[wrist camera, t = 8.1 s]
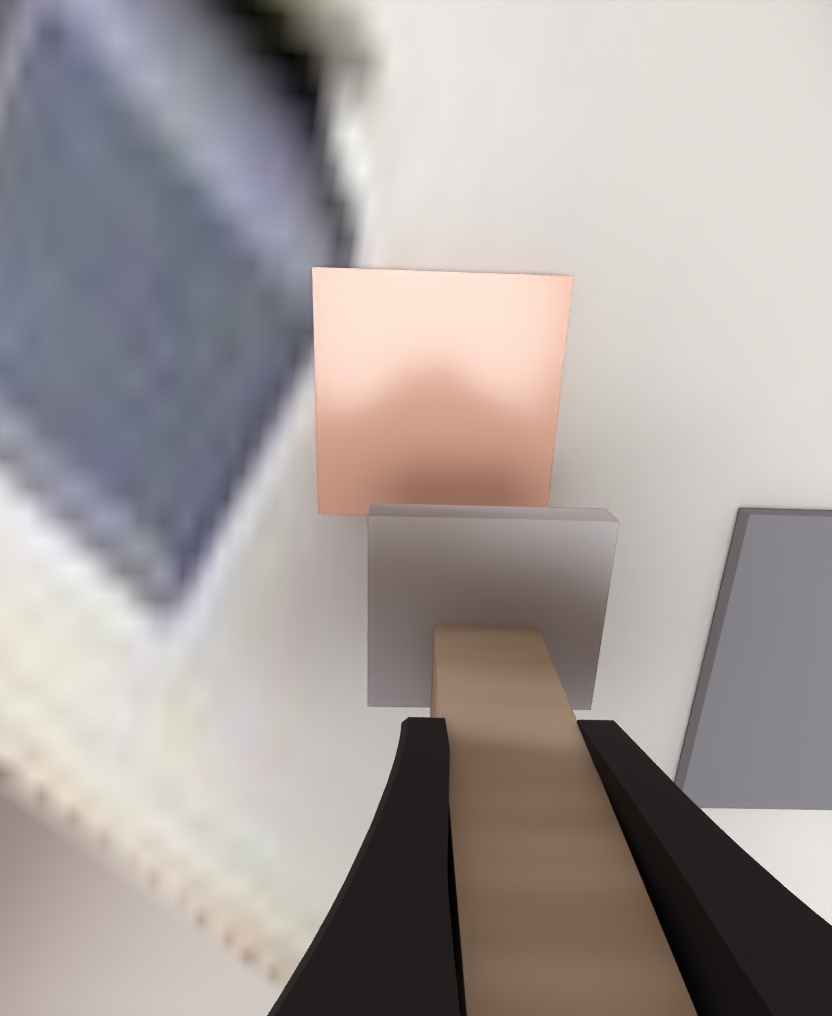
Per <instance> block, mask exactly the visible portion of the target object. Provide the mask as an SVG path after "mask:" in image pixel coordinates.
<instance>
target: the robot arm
mask: <svg viewBox="0 0 832 1016" xmlns="http://www.w3.org/2000/svg"><path fill="white" fill-rule="evenodd" d="M577 724H578V727H579V729H580V732H581V734H582V736H583V739H584V741H585V744H586V746H587V749H588V751H589V754H590V756H591V759H592V761H593V763H594V766H595V768H596V770H597V772H598V774H599V777H600V779H601V782H602V784H603V786H604V789H605V791H606V794H607V796H608V799H609V801H610V803H611V806H612V808H613V811H614V813H615V816H616V818H617V821H618V823H619V825H620V828H621V830H622V833H623V835H624V838H625V840H626V842H627V845H628V847H629V850H630V852H631V855H632V857H633V859H634V862H635V864H636V867H637V869H638V872H639V874H640V876H641V879H642V881H643V884H644V886H645V889H646V891H647V893H648V896H649V898H650V901H651V903H652V906H653V908H654V911H655V913H656V915H657V918H658V920H659V923H660V925H661V928H662V930H663V932H664V935H665V937H666V940H667V942H668V945H669V947H670V949H671V952H672V954H673V957H674V959H675V962H676V964H677V966H678V969H679V971H680V974H681V976H682V979H683V981H684V983H685V986H686V988H687V991H688V993H689V996H690V998H691V1001H692V1003H693V1005H694V1008H695V1010H696V1013H697V1015H698V1016H832V926H831V925H830V924H829V923H828V922H826V921H825V920H824V919H823V918H821V917H820V916H819V915H818V914H816V913H815V912H814V911H813V910H812V909H810V908H809V907H808V906H807V905H806V904H804V903H803V902H802V901H801V900H800V899H799V898H797V897H796V896H795V895H794V894H793V893H791V892H790V891H789V890H788V889H787V888H786V887H784V886H783V885H782V884H781V883H780V882H779V881H778V880H777V879H775V878H774V877H773V876H772V875H771V874H770V873H769V872H768V871H767V870H765V869H764V868H763V867H762V866H761V865H760V864H759V863H758V862H756V861H755V860H754V859H753V858H752V857H751V856H750V855H749V854H747V853H746V852H745V851H744V850H743V849H742V848H741V847H740V846H739V845H738V844H737V843H736V842H734V841H733V840H732V839H731V838H730V837H729V836H728V835H727V834H726V833H725V832H724V831H723V830H722V829H721V828H720V827H719V826H717V825H716V824H715V823H714V822H713V821H712V820H711V819H710V818H709V817H708V816H707V815H706V814H705V813H704V812H703V811H702V810H701V809H700V808H699V807H698V806H697V805H696V804H695V803H694V802H693V801H692V800H691V799H690V798H689V797H688V796H687V795H686V794H685V793H684V792H683V791H682V790H681V789H680V788H679V787H678V786H677V785H676V784H675V783H674V782H673V781H672V780H671V779H670V778H669V777H668V776H667V775H666V774H665V773H664V772H663V771H662V770H661V769H660V768H659V767H658V766H657V765H656V764H655V763H654V762H653V761H652V760H651V759H650V758H649V756H648V755H647V754H646V753H645V752H644V751H643V750H642V749H641V748H640V747H639V746H638V745H637V744H636V743H635V742H634V741H633V740H632V739H631V738H630V737H629V736H628V735H627V734H626V733H625V732H624V731H623V730H622V728H621V727H620V726H619V725H618V724H617V723H616V722H615V721H614V720H577ZM449 770H450V746H449V739H448V733H447V727H446V721H445V718H426V717H408V718H407V719H406V720H404V721H403V722H402V723H401V734H400V739H399V744H398V748H397V752H396V756H395V760H394V763H393V766H392V769H391V773H390V776H389V779H388V782H387V785H386V787H385V790H384V792H383V795H382V798H381V800H380V803H379V805H378V808H377V811H376V813H375V816H374V819H373V821H372V823H371V826H370V828H369V830H368V833H367V835H366V837H365V839H364V841H363V843H362V846H361V848H360V850H359V852H358V854H357V856H356V859H355V861H354V863H353V865H352V867H351V869H350V871H349V874H348V876H347V878H346V880H345V882H344V884H343V886H342V888H341V890H340V892H339V893H338V895H337V897H336V899H335V901H334V903H333V905H332V907H331V909H330V911H329V913H328V914H327V916H326V918H325V920H324V922H323V923H322V925H321V927H320V929H319V931H318V932H317V934H316V936H315V938H314V940H313V941H312V943H311V945H310V947H309V948H308V950H307V952H306V953H305V955H304V957H303V958H302V960H301V962H300V963H299V965H298V967H297V968H296V970H295V972H294V973H293V975H292V977H291V978H290V980H289V981H288V983H287V985H286V986H285V988H284V990H283V991H282V993H281V995H280V996H279V998H278V1000H277V1001H276V1003H275V1004H274V1006H273V1007H272V1009H271V1011H270V1012H269V1014H268V1015H267V1016H460V1009H459V999H458V989H457V980H456V970H455V960H454V949H453V938H452V927H451V917H450V906H449V895H448V865H447V858H448V815H449Z"/></svg>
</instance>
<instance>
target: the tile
mask: <svg viewBox="0 0 832 1016" xmlns="http://www.w3.org/2000/svg"><path fill="white" fill-rule="evenodd" d="M312 276H313V315H314V354H315V394H316V433H317V472H318V511H319V514H342V515H368V513H369V508H370V503H384V504H427V505H471V506H514V507H547V504H548V496H549V487H550V478H551V469H552V460H553V452H554V443H555V434H556V425H557V417H558V408H559V399H560V390H561V381H562V373H563V364H564V355H565V346H566V338H567V329H568V320H569V311H570V303H571V294H572V285H573V276H552V275H524V274H495V273H467V272H438V271H410V270H382V269H353V268H325V267H312Z"/></svg>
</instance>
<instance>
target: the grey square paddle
mask: <svg viewBox="0 0 832 1016" xmlns="http://www.w3.org/2000/svg"><path fill="white" fill-rule="evenodd" d="M618 526H619V521H618V520H617V519H616V518H615V517H614V516H613V515H612V514H611V513H610V512H609V511H608V510H607V509H600V508H557V507H514V506H471V505H427V504H384V503H370V508H369V513H368V706H372V707H430V716H431V718H445V721H446V727H447V733H448V739H449V746H450V770H449V815H448V858H447V865H448V895H449V906H450V917H451V927H452V938H453V949H454V960H455V970H456V980H457V989H458V999H459V1009H460V1016H698V1015H697V1013H696V1010H695V1008H694V1005H693V1003H692V1001H691V998H690V996H689V993H688V991H687V988H686V986H685V983H684V981H683V979H682V976H681V974H680V971H679V969H678V966H677V964H676V962H675V959H674V957H673V954H672V952H671V949H670V947H669V945H668V942H667V940H666V937H665V935H664V932H663V930H662V928H661V925H660V923H659V920H658V918H657V915H656V913H655V911H654V908H653V906H652V903H651V901H650V898H649V896H648V893H647V891H646V889H645V886H644V884H643V881H642V879H641V876H640V874H639V872H638V869H637V867H636V864H635V862H634V859H633V857H632V855H631V852H630V850H629V847H628V845H627V842H626V840H625V838H624V835H623V833H622V830H621V828H620V825H619V823H618V821H617V818H616V816H615V813H614V811H613V808H612V806H611V803H610V801H609V799H608V796H607V794H606V791H605V789H604V786H603V784H602V782H601V779H600V777H599V774H598V772H597V770H596V768H595V766H594V763H593V761H592V759H591V756H590V754H589V751H588V749H587V746H586V744H585V741H584V739H583V736H582V734H581V732H580V729H579V727H578V724H577V721H576V718H575V716H574V713H573V711H572V710H591V704H592V698H593V691H594V685H595V678H596V671H597V665H598V658H599V652H600V645H601V639H602V632H603V625H604V619H605V612H606V606H607V599H608V592H609V586H610V579H611V573H612V566H613V559H614V553H615V546H616V540H617V533H618Z"/></svg>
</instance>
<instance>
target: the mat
mask: <svg viewBox="0 0 832 1016" xmlns="http://www.w3.org/2000/svg"><path fill="white" fill-rule="evenodd" d="M675 784H676V785H677V786H678V787H679V788H680V789H681V790H682V791H683V792H684V793H685V794H686V795H687V796H688V797H689V798H690V799H691V800H692V801H693V802H694V803H695V804H696V805H697V806H698V807H699V808H740V809H802V810H832V511H827V510H792V509H757V508H740V509H739V513H738V517H737V521H736V525H735V530H734V534H733V538H732V542H731V547H730V551H729V555H728V559H727V564H726V568H725V572H724V576H723V581H722V585H721V589H720V593H719V598H718V602H717V606H716V610H715V614H714V619H713V623H712V627H711V631H710V636H709V640H708V644H707V648H706V653H705V657H704V661H703V665H702V670H701V674H700V678H699V682H698V686H697V691H696V695H695V699H694V703H693V708H692V712H691V716H690V720H689V725H688V729H687V733H686V737H685V742H684V746H683V750H682V754H681V758H680V763H679V767H678V771H677V775H676V780H675Z"/></svg>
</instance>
